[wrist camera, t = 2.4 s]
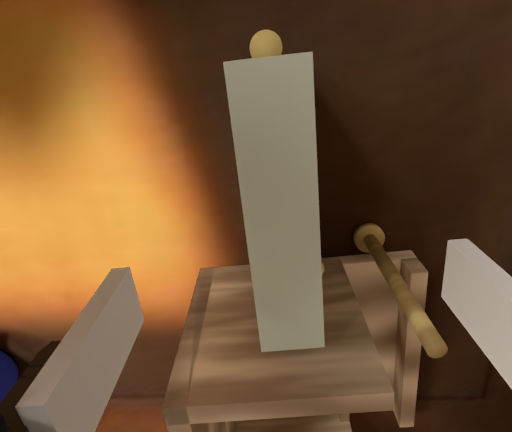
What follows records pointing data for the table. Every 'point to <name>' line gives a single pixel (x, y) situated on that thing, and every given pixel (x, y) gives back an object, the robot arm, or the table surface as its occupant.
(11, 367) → the mug
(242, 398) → the cabinet
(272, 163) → the door
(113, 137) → the table surface
